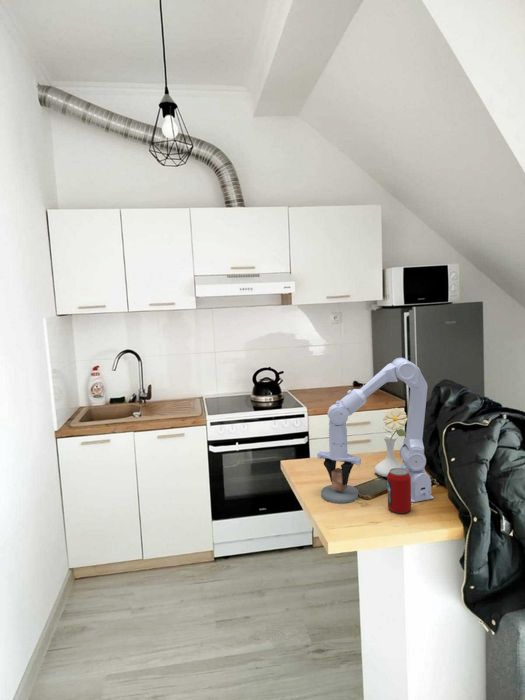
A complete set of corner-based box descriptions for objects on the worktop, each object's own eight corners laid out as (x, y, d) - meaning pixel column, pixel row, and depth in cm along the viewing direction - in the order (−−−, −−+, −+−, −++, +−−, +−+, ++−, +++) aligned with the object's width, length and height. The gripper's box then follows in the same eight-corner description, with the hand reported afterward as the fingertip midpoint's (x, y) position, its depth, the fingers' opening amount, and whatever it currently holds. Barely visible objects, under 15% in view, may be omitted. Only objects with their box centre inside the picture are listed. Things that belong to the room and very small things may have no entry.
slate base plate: (365, 499, 151) (365, 495, 151) (330, 506, 148) (330, 501, 148) (348, 486, 163) (348, 482, 163) (315, 491, 159) (315, 487, 159)
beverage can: (393, 503, 148) (392, 465, 147) (414, 508, 144) (414, 469, 143) (384, 511, 143) (383, 472, 142) (405, 516, 139) (405, 476, 137)
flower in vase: (367, 474, 172) (366, 407, 170) (387, 466, 179) (386, 401, 177) (398, 484, 162) (396, 412, 160) (417, 476, 169) (417, 406, 167)
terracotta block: (347, 487, 155) (346, 470, 155) (341, 491, 153) (341, 473, 152) (337, 485, 158) (337, 467, 157) (331, 488, 155) (331, 471, 154)
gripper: (364, 441, 153) (365, 482, 154) (323, 436, 161) (324, 474, 162) (355, 447, 147) (356, 490, 148) (313, 441, 155) (315, 481, 156)
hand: (339, 482), depth 155 cm, fingers closed on terracotta block, 4 cm apart
